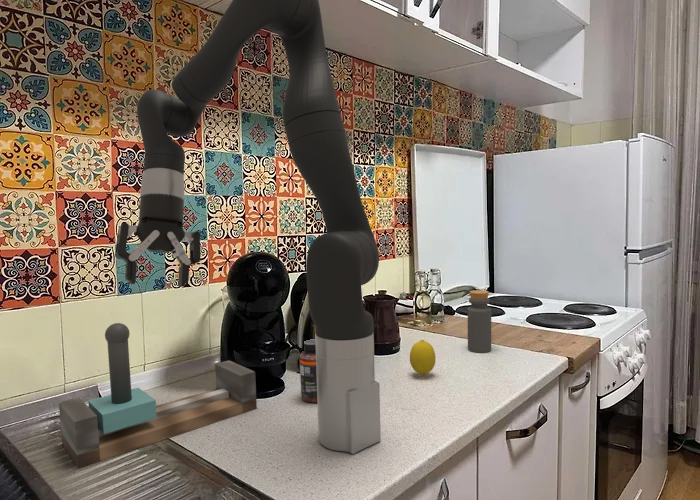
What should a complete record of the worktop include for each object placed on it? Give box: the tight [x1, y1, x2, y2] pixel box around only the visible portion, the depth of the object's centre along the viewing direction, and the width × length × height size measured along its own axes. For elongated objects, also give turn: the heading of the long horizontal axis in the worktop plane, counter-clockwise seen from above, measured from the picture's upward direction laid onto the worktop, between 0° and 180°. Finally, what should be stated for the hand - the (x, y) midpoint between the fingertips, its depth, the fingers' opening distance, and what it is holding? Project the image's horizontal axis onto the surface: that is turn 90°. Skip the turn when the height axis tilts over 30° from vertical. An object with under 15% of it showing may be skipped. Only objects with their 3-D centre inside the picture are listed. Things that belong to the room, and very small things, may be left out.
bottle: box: [467, 289, 492, 354], centre depth 124 cm, size 6×6×15 cm
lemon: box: [409, 339, 437, 377], centre depth 106 cm, size 6×6×8 cm
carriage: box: [87, 322, 157, 434], centre depth 79 cm, size 8×8×16 cm
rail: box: [58, 360, 258, 469], centre depth 85 cm, size 30×10×7 cm, turn 132°
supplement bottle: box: [299, 339, 317, 403], centre depth 95 cm, size 6×6×11 cm
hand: (157, 285), depth 87 cm, fingers open, 8 cm apart
